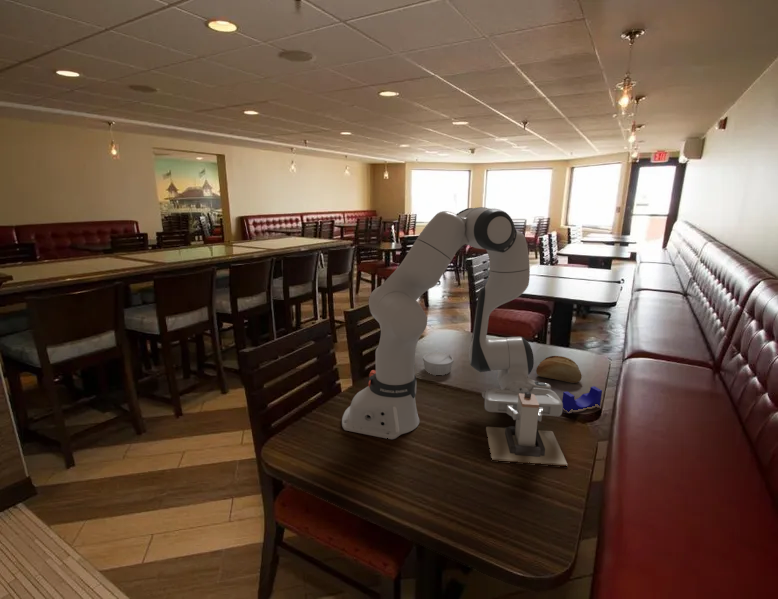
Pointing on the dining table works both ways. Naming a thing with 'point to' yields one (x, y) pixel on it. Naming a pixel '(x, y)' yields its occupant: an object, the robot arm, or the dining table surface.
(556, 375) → the bread roll
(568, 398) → the cable clip
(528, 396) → the white and orange block
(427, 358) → the ramekin
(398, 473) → the dining table surface
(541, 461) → the board
